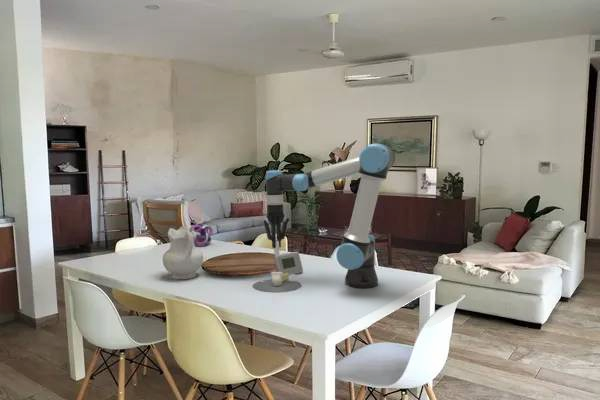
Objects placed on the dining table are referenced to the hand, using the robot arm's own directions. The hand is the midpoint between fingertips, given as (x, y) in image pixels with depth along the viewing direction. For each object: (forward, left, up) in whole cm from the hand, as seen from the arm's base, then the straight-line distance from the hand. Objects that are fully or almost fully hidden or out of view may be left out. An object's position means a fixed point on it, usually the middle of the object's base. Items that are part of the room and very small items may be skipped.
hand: (276, 254), depth 214 cm
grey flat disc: (-5, +5, -13) cm, 15 cm away
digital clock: (+6, -14, -14) cm, 21 cm away
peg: (-4, +1, -12) cm, 13 cm away
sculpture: (+103, -35, -14) cm, 109 cm away
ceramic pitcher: (+42, +21, -14) cm, 49 cm away
